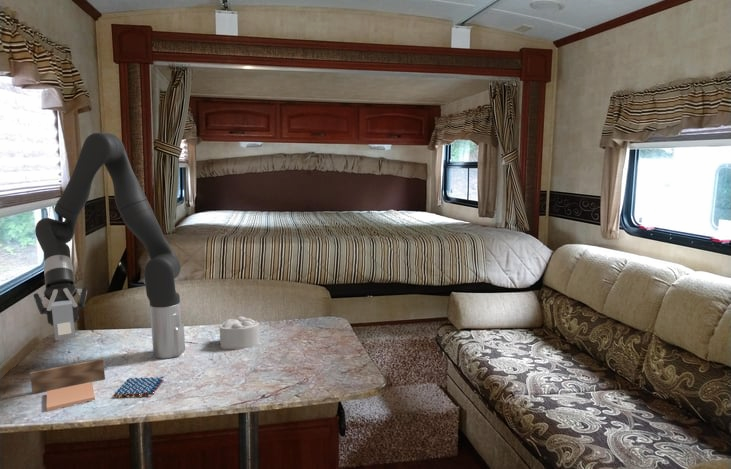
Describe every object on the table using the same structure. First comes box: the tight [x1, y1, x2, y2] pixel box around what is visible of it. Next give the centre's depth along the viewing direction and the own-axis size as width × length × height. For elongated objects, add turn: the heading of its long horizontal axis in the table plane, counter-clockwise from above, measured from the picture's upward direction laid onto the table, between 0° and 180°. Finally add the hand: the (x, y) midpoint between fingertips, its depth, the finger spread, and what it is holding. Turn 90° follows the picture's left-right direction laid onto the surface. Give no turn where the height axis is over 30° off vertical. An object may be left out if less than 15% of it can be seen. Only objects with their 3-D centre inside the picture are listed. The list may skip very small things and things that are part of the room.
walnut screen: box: [29, 358, 106, 395], centre depth 144 cm, size 18×1×6 cm, turn 122°
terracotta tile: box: [46, 382, 96, 412], centre depth 137 cm, size 11×11×1 cm
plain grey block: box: [52, 300, 76, 341], centre depth 146 cm, size 5×5×10 cm
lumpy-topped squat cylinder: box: [219, 316, 261, 350], centre depth 176 cm, size 10×13×9 cm
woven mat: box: [113, 376, 165, 399], centre depth 142 cm, size 10×11×2 cm
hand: (63, 322), depth 145 cm, fingers closed on plain grey block, 5 cm apart
